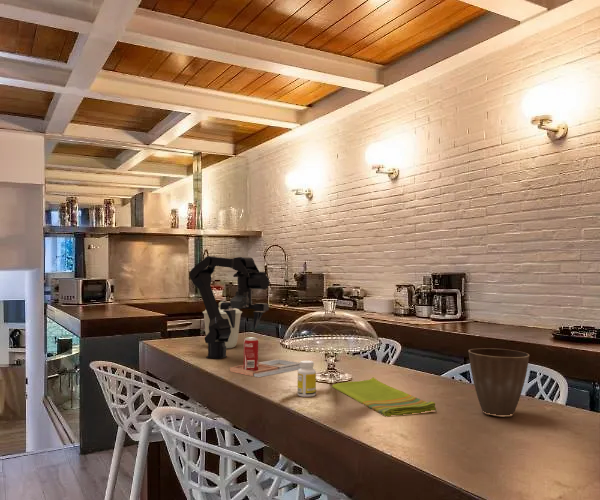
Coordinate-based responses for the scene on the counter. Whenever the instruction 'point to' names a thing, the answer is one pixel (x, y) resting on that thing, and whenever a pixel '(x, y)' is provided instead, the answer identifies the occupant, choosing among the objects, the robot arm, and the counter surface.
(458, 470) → the counter surface
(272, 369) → the socket rail
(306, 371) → the supplement bottle
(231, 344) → the canister
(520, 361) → the plant pot
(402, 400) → the dish towel
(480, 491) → the counter surface
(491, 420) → the counter surface
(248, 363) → the soda can
